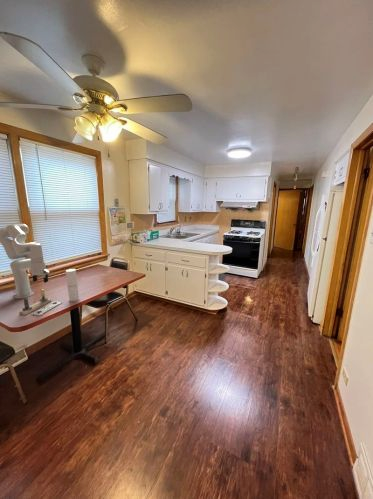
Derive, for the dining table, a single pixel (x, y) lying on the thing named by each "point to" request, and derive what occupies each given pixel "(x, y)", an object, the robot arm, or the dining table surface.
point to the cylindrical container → (72, 284)
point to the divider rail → (32, 306)
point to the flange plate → (46, 308)
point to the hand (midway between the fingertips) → (40, 281)
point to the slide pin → (43, 295)
